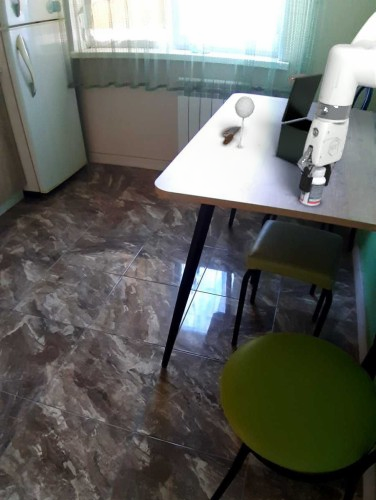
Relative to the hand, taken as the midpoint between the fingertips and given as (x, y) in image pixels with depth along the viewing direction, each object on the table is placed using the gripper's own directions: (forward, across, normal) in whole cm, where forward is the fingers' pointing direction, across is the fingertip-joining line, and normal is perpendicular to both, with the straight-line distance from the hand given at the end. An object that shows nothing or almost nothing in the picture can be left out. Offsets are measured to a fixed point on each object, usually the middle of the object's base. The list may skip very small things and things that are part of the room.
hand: (313, 186), depth 106 cm
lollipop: (+4, +12, +40) cm, 42 cm away
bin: (+4, +22, +22) cm, 31 cm away
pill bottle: (+4, 0, 0) cm, 4 cm away
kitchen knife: (+4, +17, +51) cm, 54 cm away
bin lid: (-12, +22, +26) cm, 36 cm away
